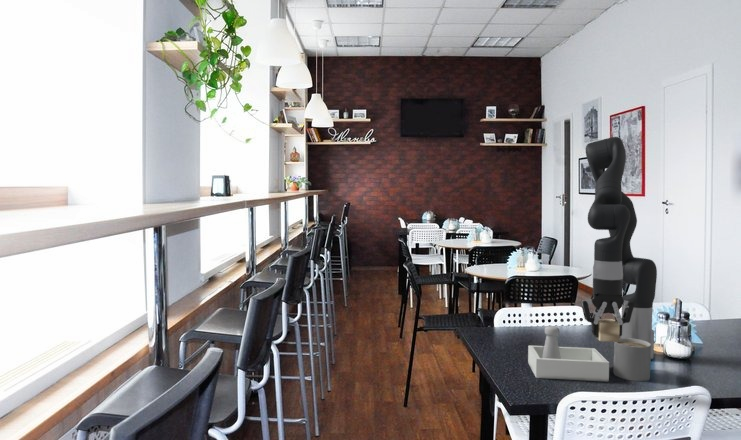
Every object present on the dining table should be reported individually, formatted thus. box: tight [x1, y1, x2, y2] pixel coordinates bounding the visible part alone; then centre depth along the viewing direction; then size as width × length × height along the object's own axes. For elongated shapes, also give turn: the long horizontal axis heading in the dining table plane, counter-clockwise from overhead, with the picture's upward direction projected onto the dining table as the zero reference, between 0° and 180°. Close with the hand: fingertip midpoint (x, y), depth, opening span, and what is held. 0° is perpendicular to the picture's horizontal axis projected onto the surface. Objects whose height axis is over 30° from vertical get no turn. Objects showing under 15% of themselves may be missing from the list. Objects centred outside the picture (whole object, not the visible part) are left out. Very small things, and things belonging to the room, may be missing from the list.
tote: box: [527, 345, 610, 382], centre depth 161 cm, size 20×14×6 cm
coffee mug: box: [612, 337, 652, 382], centre depth 160 cm, size 13×10×10 cm
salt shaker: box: [542, 325, 561, 359], centre depth 162 cm, size 6×6×13 cm
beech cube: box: [596, 318, 620, 343], centre depth 147 cm, size 5×5×5 cm
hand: (606, 336), depth 147 cm, fingers closed on beech cube, 5 cm apart
